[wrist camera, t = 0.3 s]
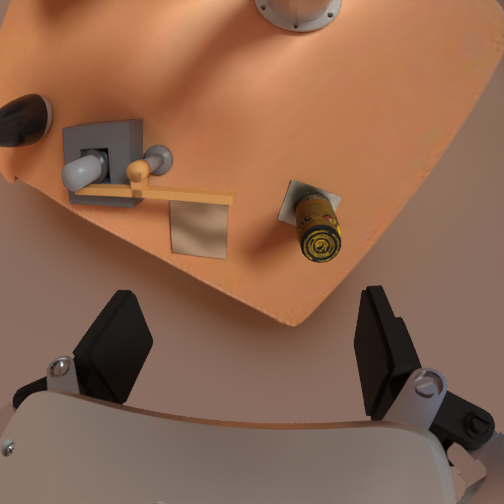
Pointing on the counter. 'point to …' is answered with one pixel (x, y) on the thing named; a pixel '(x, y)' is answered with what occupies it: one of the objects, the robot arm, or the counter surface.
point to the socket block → (113, 155)
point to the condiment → (313, 220)
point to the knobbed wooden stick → (155, 189)
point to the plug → (86, 169)
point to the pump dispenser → (24, 121)
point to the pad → (199, 228)
